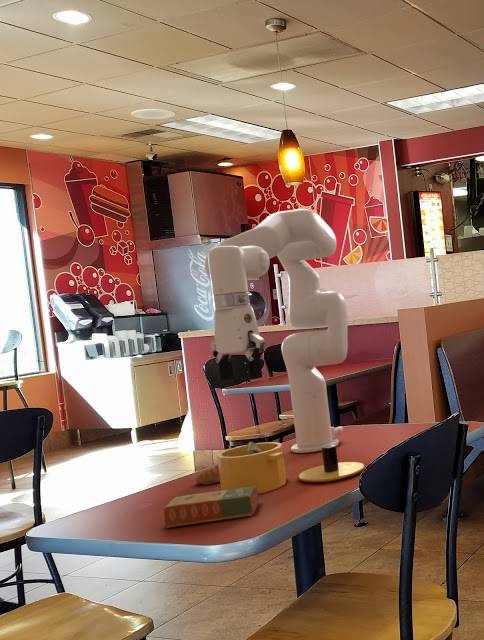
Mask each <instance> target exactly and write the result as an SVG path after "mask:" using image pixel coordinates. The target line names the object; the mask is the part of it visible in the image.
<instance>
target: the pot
mask: <svg viewBox="0 0 484 640" xmlns="http://www.w3.org/2000/svg"><path fill="white" fill-rule="evenodd" d="M255 444H256V446H257V447H258V448H259V449H260V450H261V451H263V452H261V453H256V454H252V455H248V453H247V450H248V444H244V445H239V446H235V447H232V448H227V449H225V450H223V451H220V452H218V454H217V455H216V457H217V464H218V467H219V475H220V482H219V483H220V491H222V490H230V489H237V488H244V487H251V486H256V487H257V492H258V495H261V494H264V493H265V494H266V493H268V492H271V491H274V490H277V489H279V488H282V487H283V486H284V485H285V484H286V483H287V476H286V466H285V453H284V451H283V444H282V443H280V442H272V441H269V442H257V443H255Z"/></svg>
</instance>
